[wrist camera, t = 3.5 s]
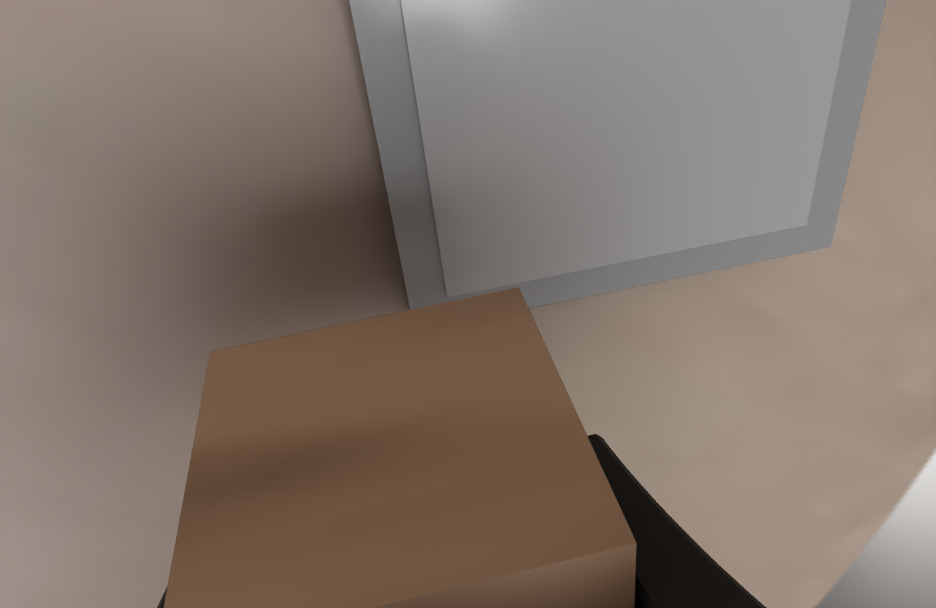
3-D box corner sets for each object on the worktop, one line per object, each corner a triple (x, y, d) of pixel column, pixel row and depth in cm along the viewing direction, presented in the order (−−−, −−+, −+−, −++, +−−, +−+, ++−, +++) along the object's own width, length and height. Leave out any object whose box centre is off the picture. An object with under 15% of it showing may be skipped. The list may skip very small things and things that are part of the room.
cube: (537, 486, 14) (629, 749, 10) (294, 544, 14) (289, 841, 10) (518, 287, 11) (635, 542, 7) (209, 351, 11) (154, 662, 7)
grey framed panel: (810, 229, 21) (833, 249, 20) (410, 310, 19) (415, 335, 19) (917, -305, 14) (962, -315, 13) (304, -224, 12) (303, -229, 12)
